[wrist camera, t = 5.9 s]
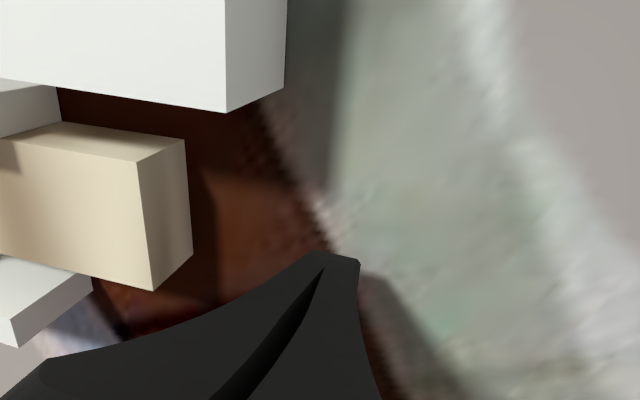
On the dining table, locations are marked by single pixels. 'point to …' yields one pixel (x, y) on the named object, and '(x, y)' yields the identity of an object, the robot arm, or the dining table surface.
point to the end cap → (22, 275)
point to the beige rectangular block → (96, 202)
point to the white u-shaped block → (149, 48)
